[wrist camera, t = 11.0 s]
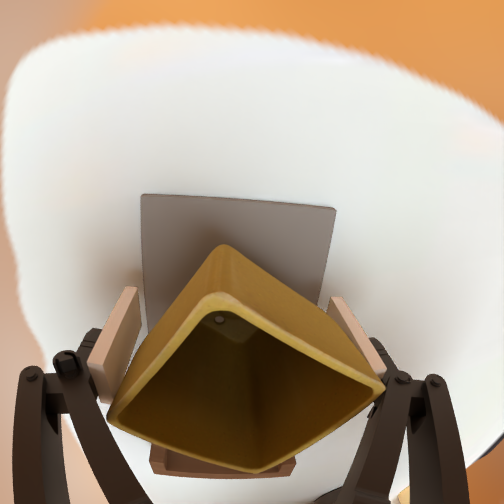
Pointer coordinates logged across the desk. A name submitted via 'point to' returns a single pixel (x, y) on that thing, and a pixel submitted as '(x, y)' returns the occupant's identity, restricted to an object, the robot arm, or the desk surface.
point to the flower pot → (242, 371)
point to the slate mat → (230, 243)
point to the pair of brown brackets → (207, 467)
